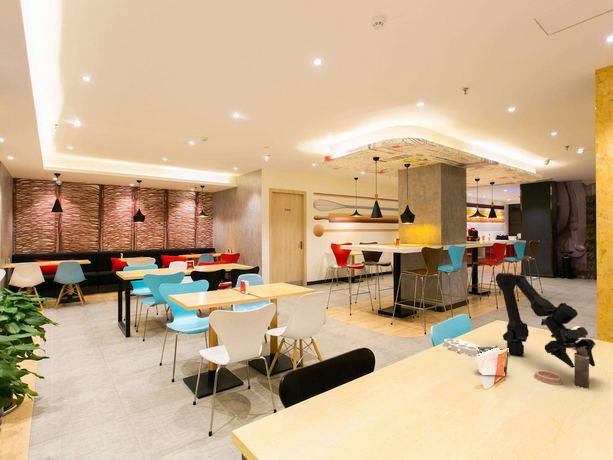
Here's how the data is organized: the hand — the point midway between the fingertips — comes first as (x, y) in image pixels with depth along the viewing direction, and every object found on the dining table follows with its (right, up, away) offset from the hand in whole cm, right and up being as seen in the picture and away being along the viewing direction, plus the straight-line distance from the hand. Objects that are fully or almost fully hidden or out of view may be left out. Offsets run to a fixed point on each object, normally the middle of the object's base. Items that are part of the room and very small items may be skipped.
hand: (583, 366), depth 129 cm
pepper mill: (0, -8, +1) cm, 8 cm away
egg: (+31, -8, +41) cm, 51 cm away
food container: (-29, -8, +12) cm, 32 cm away
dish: (-9, -8, +6) cm, 13 cm away
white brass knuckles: (-28, -8, +40) cm, 49 cm away
